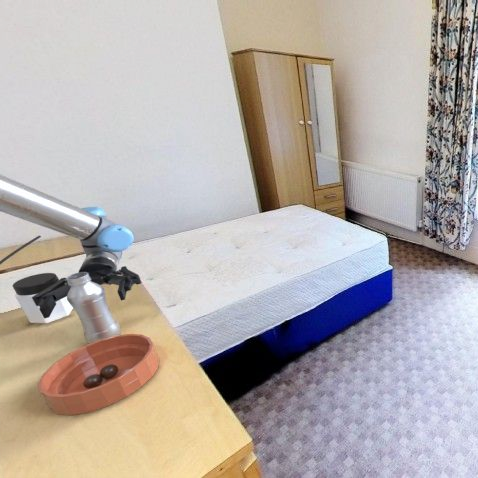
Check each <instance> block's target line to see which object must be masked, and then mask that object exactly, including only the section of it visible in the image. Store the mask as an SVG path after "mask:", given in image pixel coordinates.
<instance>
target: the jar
mask: <svg viewBox="0 0 478 478" xmlns="http://www.w3.org/2000/svg"><path fill="white" fill-rule="evenodd" d="M59 280H60V278H59V277H58V275H57V274H56V273H55V272H43V273H37V274H33V275H29V276H25V277H23V278H21V279H18V280H16V281H15V282H14V283H13V284H12V288H13V290H14V291H15V293H16V294H15V295H14V297H15V299H16V300H17V302H18V304H19V306H20V307H21V309H22V311H23V312H24V314H25V316H26V318H27V320H28V321H29V323H31V324H50V323H51V322H55V321H58V320H60V319H63V318H65V317H68V316H69V315H70V314H71V313H72V311H73V310H74V309H73V307H72V306H71V305H70V303H69V302H68V300H67V296H66V297H64V298H62V299H60V300H58V301H56V306H55V308H54V309H53V311H52V313H51V315H50V317H49V318H45V319H44V317H43V315H42V313H41V311H40V310H39V309H40V307H39V306H36V305H35V303H34V301H33V299H32V297H33V296H35V295H36V294H38V293H40V292H41V291H43V290H45V289H47V288H48V287H50V286H52V285H53V284H55V283H57V282H58V281H59Z"/></svg>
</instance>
